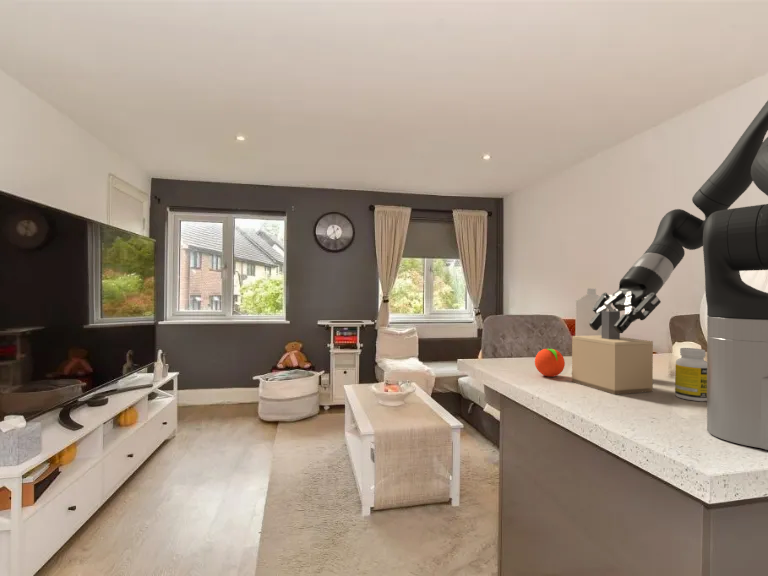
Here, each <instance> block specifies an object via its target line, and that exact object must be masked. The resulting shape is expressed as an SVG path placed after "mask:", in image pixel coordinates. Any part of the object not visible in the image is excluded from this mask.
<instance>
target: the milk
mask: <svg viewBox="0 0 768 576" xmlns="http://www.w3.org/2000/svg"><path fill="white" fill-rule="evenodd" d="M586 293H587V294H585V295H583V296H581V297H580V298H578V299H576V300H575V336H598V335H602V325H601V326H600V328H599V329H598V330H593V329H592V328H591V327H590V325H589V324H590V321H591V320H592V319H593V318H594V317H595V315H596V313H595V312H594V311H593V310H592V308H593V307H594V305H595V304H596V302H597V301H598V299H599V298H600V297H601V295H598V294H597V289H596V288H587V291H586ZM599 308H600V307H599ZM606 311H609V310H608V309H606Z"/></svg>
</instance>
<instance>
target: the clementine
mask: <svg viewBox="0 0 768 576" xmlns="http://www.w3.org/2000/svg"><path fill="white" fill-rule="evenodd" d="M565 361H566V360H565V358H564V356H563V355H562V354H561V352H560V351H559V350H557V349H553V348H551V347H549V348H542V350H539V351H538V352H537V354H536V356H535V357H534V365H535V368H536V370H537V371H538V372H539V373H540V374H541V375H543V376H545V377H550V378H551V377H552V378H553V377H556V376H558V375H560V374H562V372H563V371H564V369H565V365H566V363H565Z"/></svg>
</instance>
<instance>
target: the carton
mask: <svg viewBox="0 0 768 576" xmlns="http://www.w3.org/2000/svg"><path fill="white" fill-rule="evenodd" d="M571 342H572V344H571V347H572V350H571V360H572V361H571V382H572V383H576V384H578V385H581V386H585V387H589V388H591V389H596V390H598V391H601V390H602V392H605V393H609V394H611V395H626V394H639V393H652V392H653V387H654V386H653V379H654V378H653V377H654V376H653V374H654V373H653V372H654V371H653V368H654V367H653V366H654V365H653V364H654V361H653V359H654V356H653V355H654V349H653V346H654V345H653V344H654V343H653V344H641V345H610V344H604V343H597V342H591V341H584V340H578V339H572V340H571Z"/></svg>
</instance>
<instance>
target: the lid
mask: <svg viewBox="0 0 768 576" xmlns="http://www.w3.org/2000/svg"><path fill="white" fill-rule="evenodd" d="M620 317H621V311H620V312H615V311H609V310H608V311H602V335H598V336H576V335H572V339H578V340H584V341H591V342H597V343H604V344H610V345H641V344H654V341H653V340H645V339H639V338H638V339H637V338H631V337H622V336H621V335H620V334H621V333H618V332H617V331H616V330H615V328H614V325H615V324H616V322H617V321H618V320H619V319H620Z"/></svg>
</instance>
